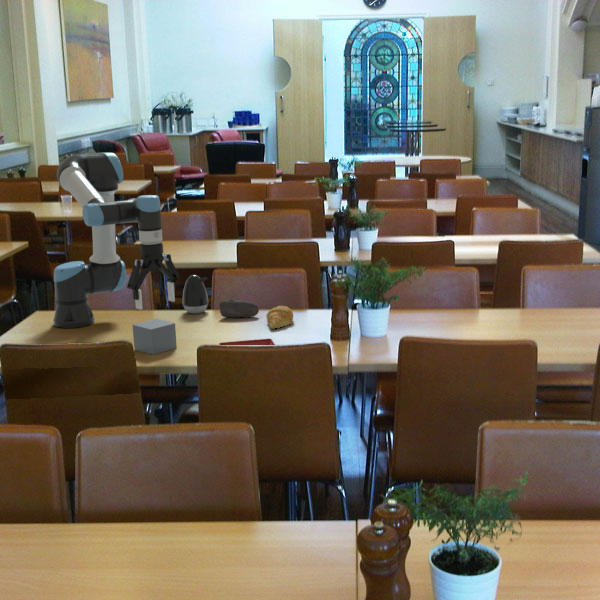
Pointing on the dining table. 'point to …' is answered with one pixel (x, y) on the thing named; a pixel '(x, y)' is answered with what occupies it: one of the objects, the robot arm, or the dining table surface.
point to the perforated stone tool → (238, 309)
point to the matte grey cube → (154, 336)
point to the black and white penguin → (195, 295)
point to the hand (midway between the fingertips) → (155, 304)
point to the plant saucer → (250, 342)
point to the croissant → (279, 317)
